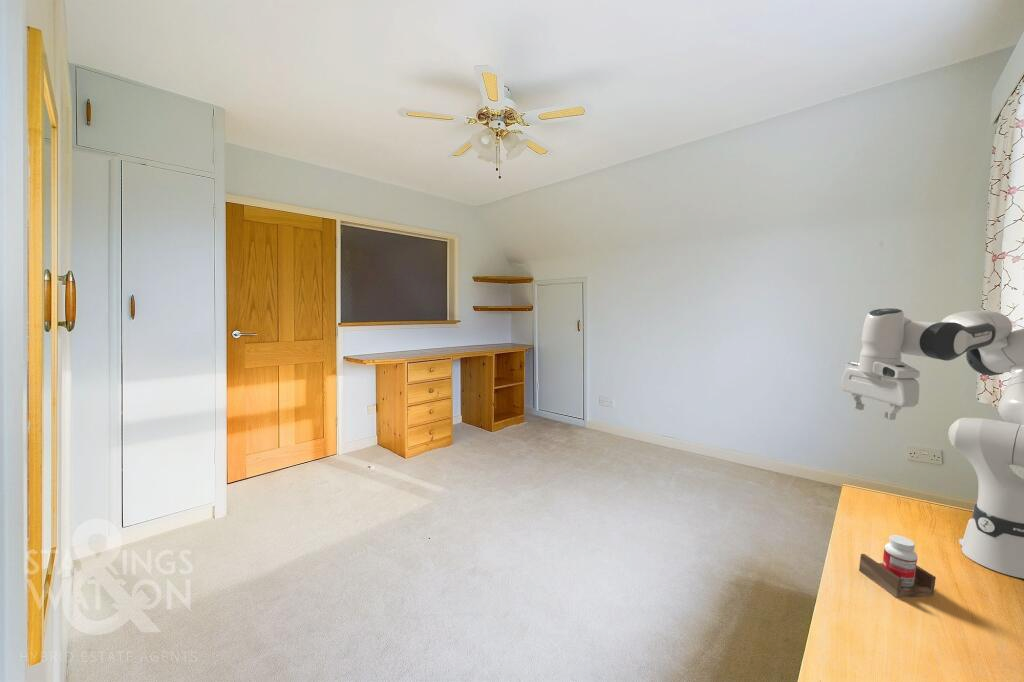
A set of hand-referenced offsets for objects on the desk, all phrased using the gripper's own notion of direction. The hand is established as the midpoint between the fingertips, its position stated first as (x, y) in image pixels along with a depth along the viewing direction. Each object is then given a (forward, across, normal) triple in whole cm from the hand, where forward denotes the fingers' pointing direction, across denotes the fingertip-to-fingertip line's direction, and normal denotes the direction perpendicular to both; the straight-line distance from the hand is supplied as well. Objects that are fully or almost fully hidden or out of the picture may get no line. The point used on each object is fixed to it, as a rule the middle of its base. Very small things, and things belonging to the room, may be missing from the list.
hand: (873, 414), depth 121 cm
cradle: (+39, +17, -7) cm, 43 cm away
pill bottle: (+38, +17, -7) cm, 43 cm away
